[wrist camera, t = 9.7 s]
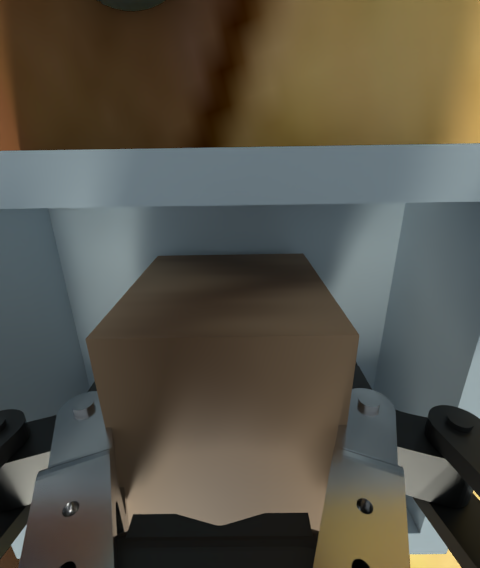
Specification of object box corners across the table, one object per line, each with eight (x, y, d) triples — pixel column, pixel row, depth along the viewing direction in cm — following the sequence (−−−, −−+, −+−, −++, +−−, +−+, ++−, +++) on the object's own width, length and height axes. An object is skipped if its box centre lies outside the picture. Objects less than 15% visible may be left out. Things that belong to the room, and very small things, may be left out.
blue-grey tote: (431, 150, 12) (595, 141, 7) (379, 426, 17) (446, 553, 12) (20, 156, 12) (-163, 153, 7) (88, 430, 17) (17, 559, 12)
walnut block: (303, 253, 12) (359, 334, 6) (294, 400, 14) (329, 552, 9) (157, 255, 12) (85, 339, 6) (174, 402, 14) (133, 554, 9)
